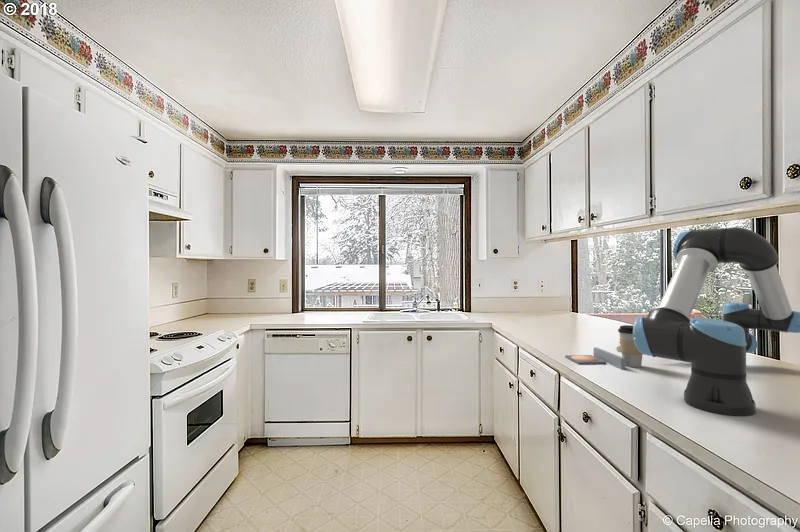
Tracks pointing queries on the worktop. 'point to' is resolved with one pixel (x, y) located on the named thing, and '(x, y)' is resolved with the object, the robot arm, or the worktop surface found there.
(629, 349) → the coffee cup
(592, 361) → the mat
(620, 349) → the toy dinosaur
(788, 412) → the worktop surface
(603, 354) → the blue-grey rectangular bar
